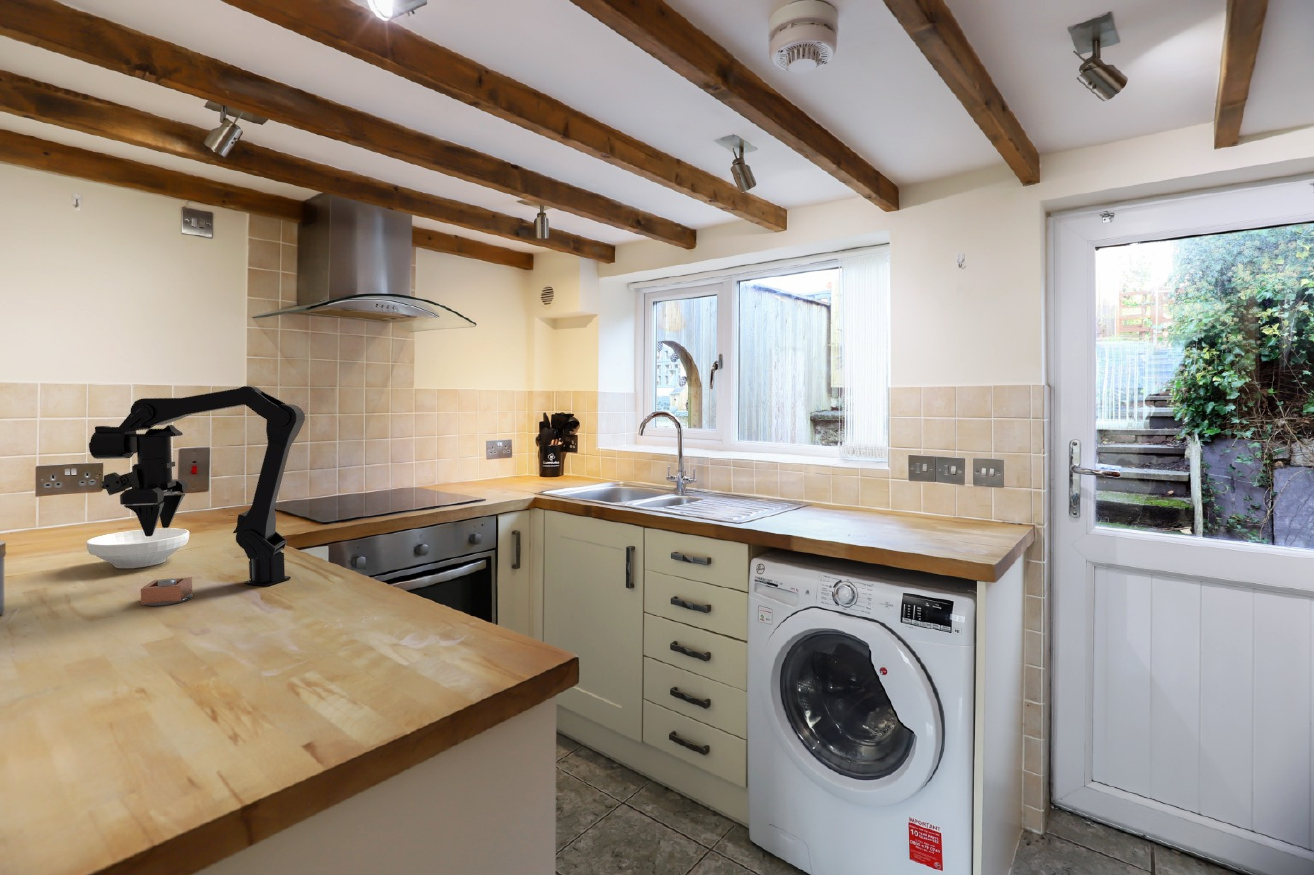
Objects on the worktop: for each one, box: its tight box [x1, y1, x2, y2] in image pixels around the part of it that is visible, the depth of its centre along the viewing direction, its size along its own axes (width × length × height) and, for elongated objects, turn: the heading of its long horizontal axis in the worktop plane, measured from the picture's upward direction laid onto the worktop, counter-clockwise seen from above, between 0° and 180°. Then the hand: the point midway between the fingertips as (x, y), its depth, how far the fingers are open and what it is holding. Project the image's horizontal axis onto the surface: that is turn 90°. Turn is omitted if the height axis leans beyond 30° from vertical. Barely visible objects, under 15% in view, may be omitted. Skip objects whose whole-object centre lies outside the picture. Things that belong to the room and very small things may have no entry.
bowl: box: [85, 527, 190, 569], centre depth 159 cm, size 20×20×7 cm
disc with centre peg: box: [142, 577, 194, 607], centre depth 131 cm, size 8×8×4 cm
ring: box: [140, 576, 193, 605], centre depth 131 cm, size 6×6×3 cm
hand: (157, 531), depth 138 cm, fingers open, 9 cm apart
